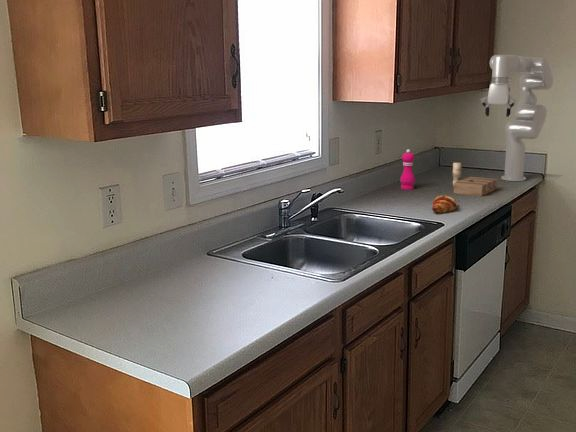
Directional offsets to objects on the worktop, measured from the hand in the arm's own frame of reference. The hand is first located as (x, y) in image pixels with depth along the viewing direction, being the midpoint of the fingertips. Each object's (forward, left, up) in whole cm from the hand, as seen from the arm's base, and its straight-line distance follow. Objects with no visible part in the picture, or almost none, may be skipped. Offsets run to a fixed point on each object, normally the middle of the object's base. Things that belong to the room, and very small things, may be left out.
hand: (497, 116), depth 320 cm
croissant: (+59, +1, -36) cm, 69 cm away
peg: (+8, -16, -36) cm, 40 cm away
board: (+15, -3, -36) cm, 39 cm away
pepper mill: (+27, -34, -36) cm, 56 cm away
